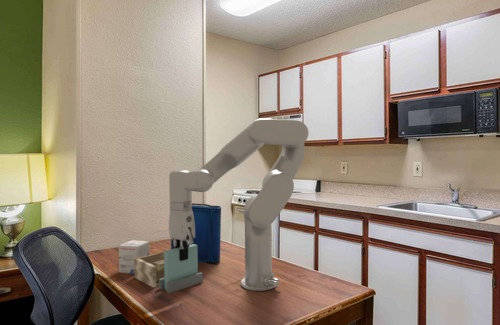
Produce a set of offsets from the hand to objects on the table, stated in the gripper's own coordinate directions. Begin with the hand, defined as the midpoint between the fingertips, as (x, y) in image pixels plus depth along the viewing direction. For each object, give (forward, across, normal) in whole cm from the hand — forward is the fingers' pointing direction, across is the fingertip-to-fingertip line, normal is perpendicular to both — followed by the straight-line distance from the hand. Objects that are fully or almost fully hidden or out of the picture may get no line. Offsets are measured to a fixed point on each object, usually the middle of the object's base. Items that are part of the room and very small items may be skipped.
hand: (181, 258), depth 116 cm
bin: (+10, +12, 0) cm, 16 cm away
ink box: (+11, +27, +4) cm, 29 cm away
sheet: (+9, 0, 0) cm, 9 cm away
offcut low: (+9, +10, 0) cm, 13 cm away
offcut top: (+6, +10, +1) cm, 11 cm away
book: (+11, +20, -21) cm, 31 cm away
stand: (+10, 0, 0) cm, 10 cm away
